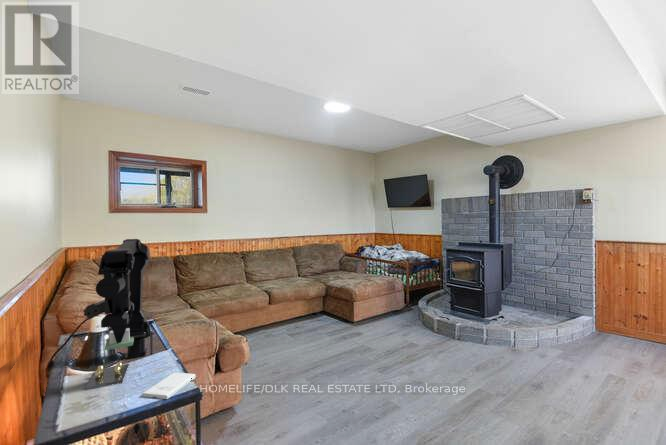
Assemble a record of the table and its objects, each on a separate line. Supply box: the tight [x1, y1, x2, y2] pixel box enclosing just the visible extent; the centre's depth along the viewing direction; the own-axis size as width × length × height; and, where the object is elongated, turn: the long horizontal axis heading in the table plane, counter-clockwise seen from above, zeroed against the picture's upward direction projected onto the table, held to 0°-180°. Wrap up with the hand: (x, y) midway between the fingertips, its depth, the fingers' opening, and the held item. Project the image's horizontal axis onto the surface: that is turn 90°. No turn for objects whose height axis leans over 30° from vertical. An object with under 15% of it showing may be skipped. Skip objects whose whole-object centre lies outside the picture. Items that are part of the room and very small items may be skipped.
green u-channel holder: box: [104, 328, 134, 351], centre depth 99 cm, size 5×7×4 cm
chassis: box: [85, 361, 130, 391], centre depth 101 cm, size 13×9×3 cm
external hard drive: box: [141, 371, 197, 400], centre depth 94 cm, size 2×8×12 cm
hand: (119, 341), depth 99 cm, fingers closed on green u-channel holder, 2 cm apart
